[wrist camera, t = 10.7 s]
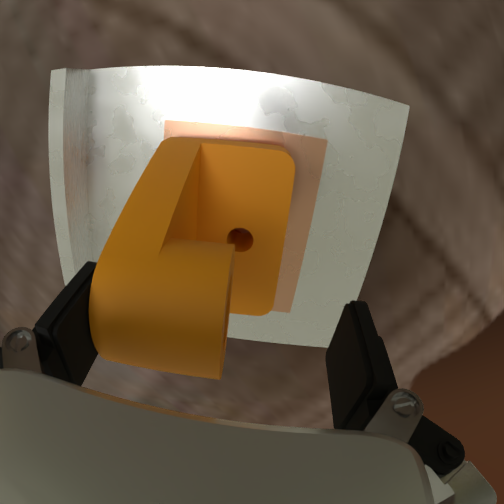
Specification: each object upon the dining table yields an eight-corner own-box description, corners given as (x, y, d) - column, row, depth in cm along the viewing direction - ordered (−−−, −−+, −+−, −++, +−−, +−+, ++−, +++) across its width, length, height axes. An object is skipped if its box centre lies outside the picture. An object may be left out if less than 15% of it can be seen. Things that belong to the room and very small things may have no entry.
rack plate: (400, 104, 18) (431, 108, 14) (335, 336, 27) (343, 373, 23) (87, 71, 17) (51, 70, 13) (97, 302, 27) (77, 333, 23)
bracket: (270, 294, 23) (273, 441, 13) (173, 283, 23) (119, 418, 12) (293, 145, 18) (336, 217, 8) (174, 135, 18) (64, 193, 7)
